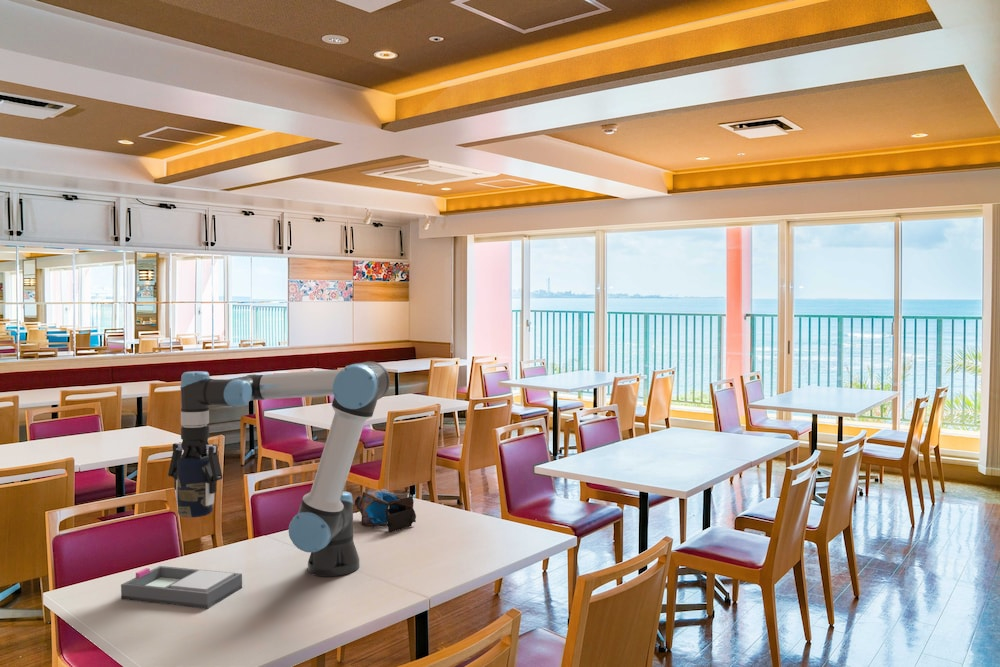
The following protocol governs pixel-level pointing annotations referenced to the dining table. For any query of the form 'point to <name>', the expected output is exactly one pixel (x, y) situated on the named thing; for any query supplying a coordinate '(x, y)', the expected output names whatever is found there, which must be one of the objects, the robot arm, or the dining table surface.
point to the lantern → (385, 509)
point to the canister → (192, 487)
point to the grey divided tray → (181, 586)
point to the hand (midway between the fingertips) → (195, 502)
